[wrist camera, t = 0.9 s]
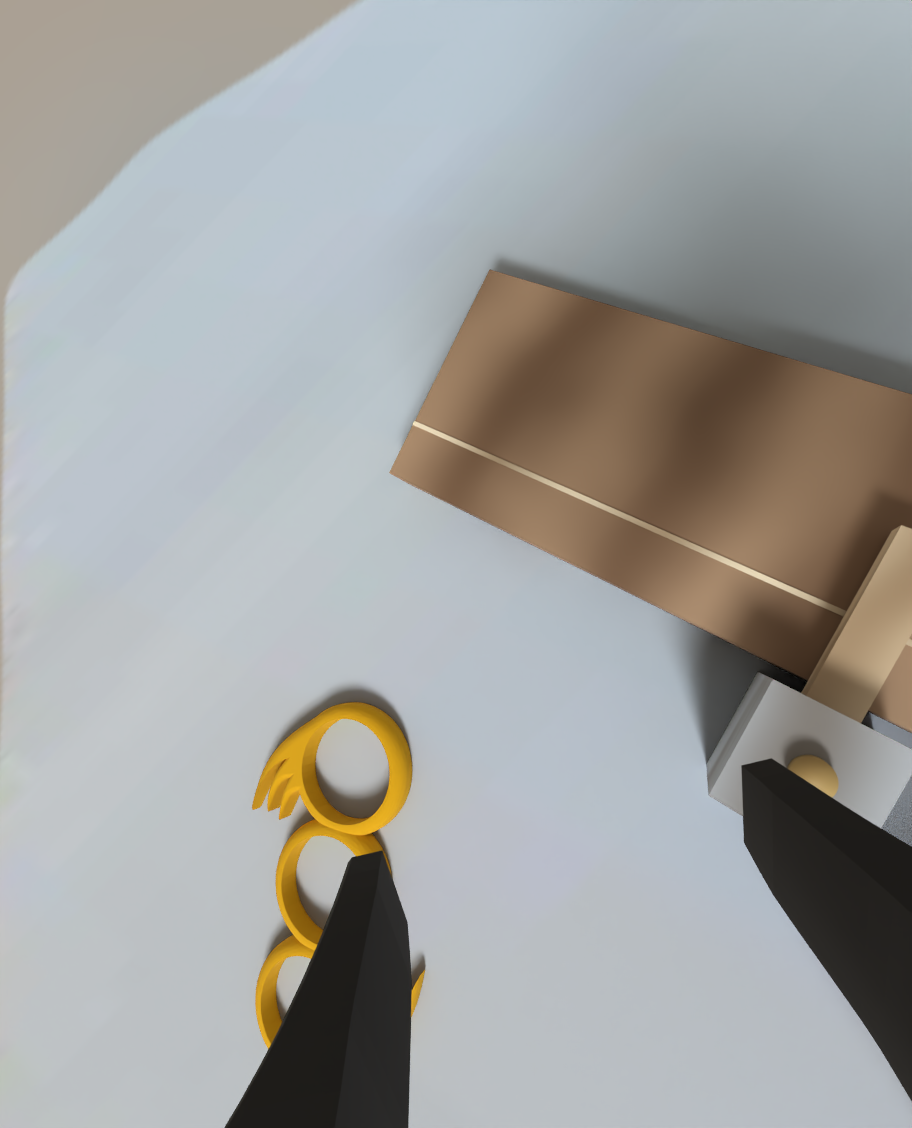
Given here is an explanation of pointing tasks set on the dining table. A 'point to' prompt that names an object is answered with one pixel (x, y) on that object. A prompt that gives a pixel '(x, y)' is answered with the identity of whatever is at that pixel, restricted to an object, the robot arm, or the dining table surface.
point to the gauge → (833, 704)
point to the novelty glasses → (320, 832)
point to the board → (672, 466)
